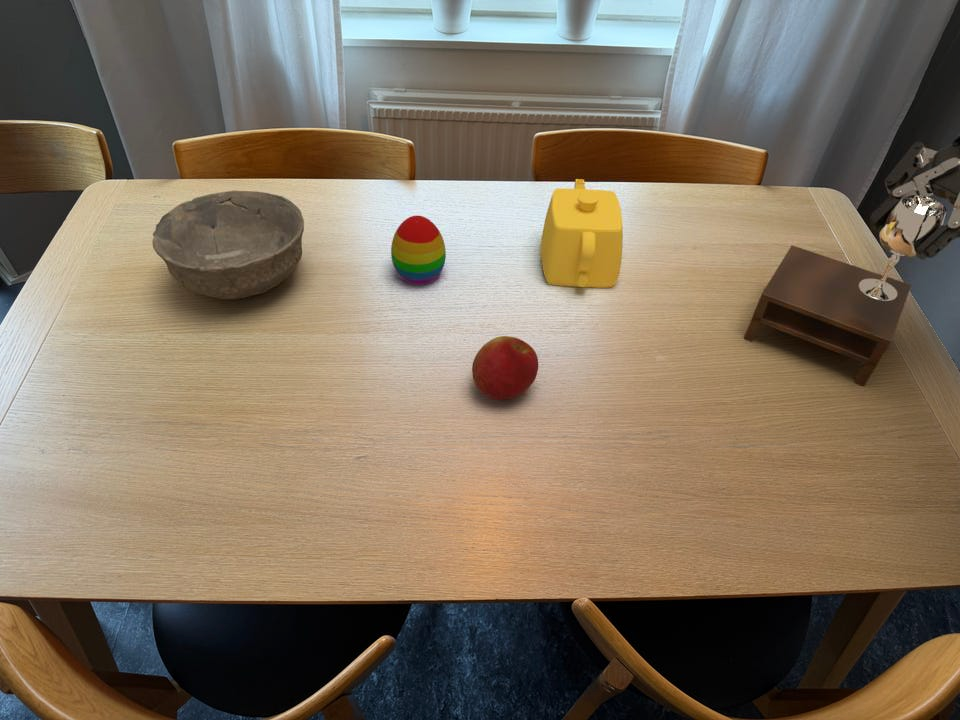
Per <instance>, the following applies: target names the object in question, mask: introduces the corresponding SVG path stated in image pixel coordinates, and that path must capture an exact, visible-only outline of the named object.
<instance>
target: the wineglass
mask: <svg viewBox="0 0 960 720" xmlns="http://www.w3.org/2000/svg"><path fill="white" fill-rule="evenodd" d="M946 214H947V207H946V206H945V205H944V204H943V203H941V202H940V201H938V200H937V199H934V198H932V197H930V196H929V197H926V196H921V195H907V196H904V197H903V198H902V199H901V200H900V201H899V202H898V203H897V204H896V206H895V207H894V208H893V209H892V210H891V212H890V213H889V214H888V216H887V217H886V219H885V220H884V222H883V224H882V227H881V230H880V231H879V241H880V244H881V245H882V246H883V248H884V249H885V250H886V251H887V252H889V253H891V254H892V255H890V257H889V258H888V261H887V266H886V269H885V271H884V274H883V277H882V278H881V280H878V279H864V280H862V281H861V282H860V283H859V289H860V290H861V291H862V292H863V293H864V294H865V295H867V296H869V297H871V298H873V299H876V300H881V301H890V300H893V299H895V298H896V297H897V291H896V289H895V288H894V287H893V286H892V285H890V284H888V283H887V282H885V280H886V278H887V277H889V274H890V272H891V271H892V269H893V268H894V267H895V266H896V265H897V264H898V263H899V261H900V258H901V257H903V258H913V257H917V255H916V252H915V250H916V249H917V247H918V246H920V245H921V244H922V243H923V242H924V241H925V240H926V239H927V238H928V237H929V236H930V235H932V234H933V233H934V232H935V231H936V230H937V229H938V228H939V227H940V226H941V225H943V226H944V222H945V219H946Z"/></svg>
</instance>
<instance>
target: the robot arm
mask: <svg viewBox="0 0 960 720" xmlns="http://www.w3.org/2000/svg"><path fill="white" fill-rule="evenodd" d="M906 151H907V152H906V153H905V154H904V155H903V156H902V157H901V159H900V160H899V161H898V163H897V164H896V165H895V166H894V168H893V169H892V170H891V171H890V173H889V174H888V175H887V176H886V177H885V179H884V185H885V188H886V190H887V193H888V194H889V196H888V197H887V199H885V201H883V202H882V203H881V204H880V205H879V206H878V207H877V208H876V209H875V210H874V211H873V212H872V213H871V215H870V216H869V217H870V221H869V225H870V227H871V229H872V230H874V232H875V231H876V232H880V230H881V227H882V224H883V222H884V220H885V219H886V217H887V216H888V214H889V213H890V212H891V210H892V209H893V208H894V207H895V206H896V204H897V203H898V202H899V201H900V200H901V199H902V198H903V197H904V196H907V195H921V196H926V197H929V198H930V197H931V196H936V197H938V198H941V199H945V200H947V201H948V203H950V204H951V205H953V209H952V211H951V214H950V216H949V219H948V221H947V224H946V225H944V224H943V225H941V226H940V227H939V228H938V229H937V230H936V231H935V232H934V233H933V234H932V235H930V236H929V237H928V238H927V239H926V240H925V241H924V242H923V243H922V244H921V245H920V246H918V247H917V249H916V250H915V252H916V255H917V256H916V257H917V258H918V259H920V260H922V261H924V260H926V259H928V258H930V259H932V258H934V257H936V256H937V255H938V254H939V253H940V252H942V251H943V250H944V249H945V248H946V247H947V246H949V245H950V244H951V243H952V242H953V241H954V240H956V239H958V238H960V134H958V136H956V138H955V139H954V140H953V142H951V144H949V145H948V146H946V147H944V148H941V149H940V150H939V149H938V150H934V149H931V148H928V147H925V144H924V142H922V141H915V142H914V143H913V144H912V145H911V146H910V148H909V149H908V150H906ZM929 163H931V167H930V169H928V170H926V171H924V172H922V173H920V174H918V175H916V176H914V177H913V178H912V176H913V175H914V174H915V173H916V171H918V169H923V168H924V167H925V166H926V165H928V164H929ZM911 178H912V179H911ZM910 179H911V180H910Z"/></svg>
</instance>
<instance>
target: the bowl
mask: <svg viewBox="0 0 960 720" xmlns="http://www.w3.org/2000/svg"><path fill="white" fill-rule="evenodd" d="M304 231H305V219H304V217H303V213H302V211H301V209H300V208H299V206H297V205H296V204H294V203H293V201H291V200H290V199H289V198H287V197H285V196H283V195H279V194H273V193H270V192H265V191H255V190H227V191H222V192H215V193H209V194H205V195H201V196H197V197H194V198H193V199H191V200H187V201H184V202H182V203H180V204H177V206H175V207H173V208H172V209H170V210H169V211H167V213H165V214H164V215H162V217H161V218H160V220H159V222H158V223H157V224H156V226H155V229H154V231H153V233H152V236H153V238H152V241H151V243H152V248H153V250H154V252H155V253H156V254H157V255H158V256H159V257H160V258H161V259H162V261H164V263H165V264H166V266H167V270H168V272H169V274H170V276H171V277H172V278H173V279H174V280H175V281H176V282H177V283H178V284H180V285H181V286H183V287H185V288H187V289H189V290H190V291H192V292H195V293H197V294H201V295H204V296H206V297H211V298H217V299H221V300H238V299H239V300H240V299H244V298H249V297H252V296H255V295H260V294H263V293H265V292H268V291H269V290H271V289H272V288H274V287H276V286H279V285H280V284H281V283H283V281H284V280H286V279H287V278H288V277H289V275H291V274H292V272H293V271H294V270H295V269H296V267H298V265H299V263H300V261H301V260H302V258H303V257H302V256H303V241H302V240H303V234H304Z"/></svg>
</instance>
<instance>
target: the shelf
mask: <svg viewBox="0 0 960 720" xmlns="http://www.w3.org/2000/svg"><path fill="white" fill-rule="evenodd" d="M883 275H884V274H883ZM883 275H882V274H881V273H877V272H874V271H870V270H868V269H866V268H862V267H859V266H856V265H853V264H850V263H847V262H844V261H841V260H838V259H834V258H831V257H829V256H826V255H823V254H820V253H817V252H814V251H811V250H808V249H805V248H802V247H798V246H796V245H793V244H791V246H790V247H789V249H788V251H786V254H785V255H784V256H783V259H781V262H780V263H779V265H778V266H777V268H776V270H775V272H774V273H773V275H772V276H771V278H770V280H769V281H768V283H767V284H766V286H765V287H764V289H763V291H762V293H761V295H760V297H759V300H758V302H757V305H756V307H755V309H754V312H753V314H752V317H751V319H750V322H749V325H748V327H747V329H746V332H745V334H744V336H743V339H745V340H747V341H749V342H753V341H754V340H755V337H757V336H756V335H757V333H758V330H759V329H760V326H761V324H762V325H765V326H768V327H771V328H773V329H776V330H778V331H780V332H783V333H786V334H788V335H791V336H793V337H795V338H799V339H801V340H804V341H807V342H810V343H812V344H814V345H816V346H819V347H822V348H825V349H827V350H830V351H832V352H835V353H838V354H841V355H843V356H846V357H848V358H851V359H853V360H856V361H859V362H861V363H863V365H862V367H861V369H860V371H859V372H858V374H857V375H856V377H855V379H854V383H855V384H857V385H858V386H859V385H860V386H862V387H865V386H866V384H867V382H868V380H869V379H870V377H871V376H872V374H873V372H874V370H875V369H876V367H877V366H878V365H879V362H880V361H881V360H882V358H883V356H884V354H885V353H886V352H887V350H888V348H889V346H890V345H891V343H892V341H893V338H894V335H895V332H896V329H897V327H898V325H899V321H900V319H901V317H902V312H903V310H904V307H905V304H906V302H907V299H908V296H909V293H910V290H911V288H912V284H910V283H907V282H904V281H901V280H898V279H895V278H893V277H889V276H887V278H886V280H885V282H887V283H888V284H890V285H892V286H893V287H894V288H895V289H896V291H897V297H896V298H895V299H893V300H890V301H881V300H876V299H873V298H871V297H869V296H867V295H865V294H864V293H863V292H862V291H861V290H860V289H859V283H860V282H861V281H862V280H864V279H878V280H881V278H882V277H883Z"/></svg>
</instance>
